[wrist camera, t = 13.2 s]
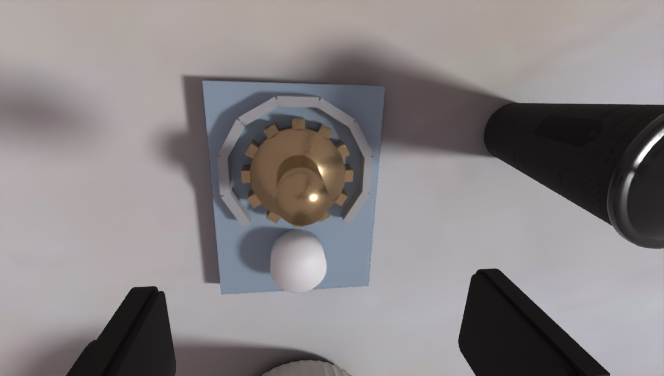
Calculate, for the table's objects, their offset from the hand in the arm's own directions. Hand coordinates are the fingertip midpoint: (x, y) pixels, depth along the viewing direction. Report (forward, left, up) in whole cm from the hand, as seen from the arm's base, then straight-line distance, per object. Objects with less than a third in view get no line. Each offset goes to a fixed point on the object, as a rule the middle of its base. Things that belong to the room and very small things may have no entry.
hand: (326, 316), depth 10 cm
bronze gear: (0, 0, -17) cm, 17 cm away
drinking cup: (-3, +18, -19) cm, 26 cm away
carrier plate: (+3, 0, -18) cm, 19 cm away
